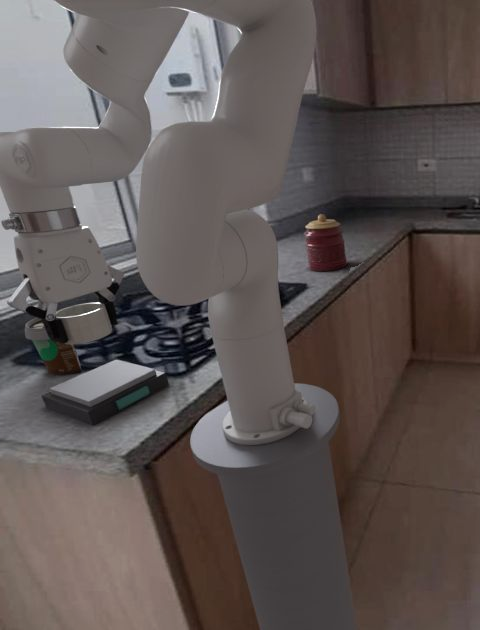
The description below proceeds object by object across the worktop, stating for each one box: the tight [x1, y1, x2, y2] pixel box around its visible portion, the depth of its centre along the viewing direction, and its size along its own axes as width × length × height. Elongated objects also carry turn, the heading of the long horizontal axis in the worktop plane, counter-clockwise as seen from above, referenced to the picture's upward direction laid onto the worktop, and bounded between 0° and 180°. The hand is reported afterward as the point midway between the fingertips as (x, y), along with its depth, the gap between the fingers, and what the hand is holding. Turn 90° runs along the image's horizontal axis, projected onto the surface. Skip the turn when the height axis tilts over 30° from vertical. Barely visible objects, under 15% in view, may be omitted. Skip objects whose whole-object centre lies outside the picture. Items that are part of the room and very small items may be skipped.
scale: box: [41, 359, 170, 426], centre depth 75 cm, size 14×13×4 cm
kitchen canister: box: [303, 213, 348, 272], centre depth 147 cm, size 13×13×18 cm
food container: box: [24, 310, 82, 376], centre depth 85 cm, size 12×6×10 cm, turn 40°
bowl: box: [56, 302, 113, 345], centre depth 71 cm, size 7×7×4 cm
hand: (86, 331), depth 71 cm, fingers closed on bowl, 6 cm apart
